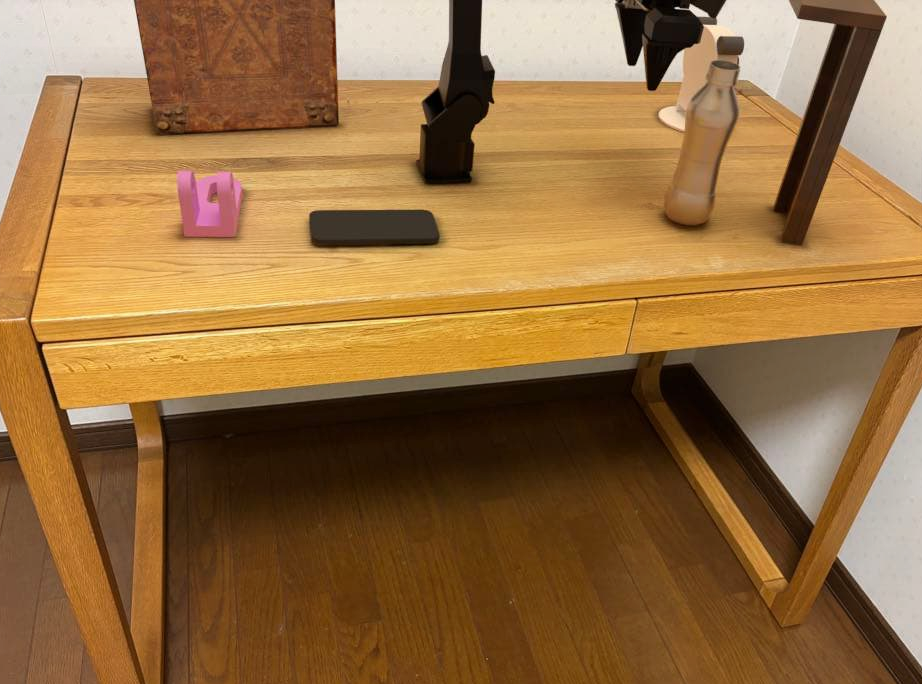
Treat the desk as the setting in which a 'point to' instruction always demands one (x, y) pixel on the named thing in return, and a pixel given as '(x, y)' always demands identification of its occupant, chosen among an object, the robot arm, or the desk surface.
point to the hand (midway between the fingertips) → (641, 77)
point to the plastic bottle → (704, 145)
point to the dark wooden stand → (827, 104)
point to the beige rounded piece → (701, 67)
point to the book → (239, 64)
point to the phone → (373, 227)
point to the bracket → (209, 204)
